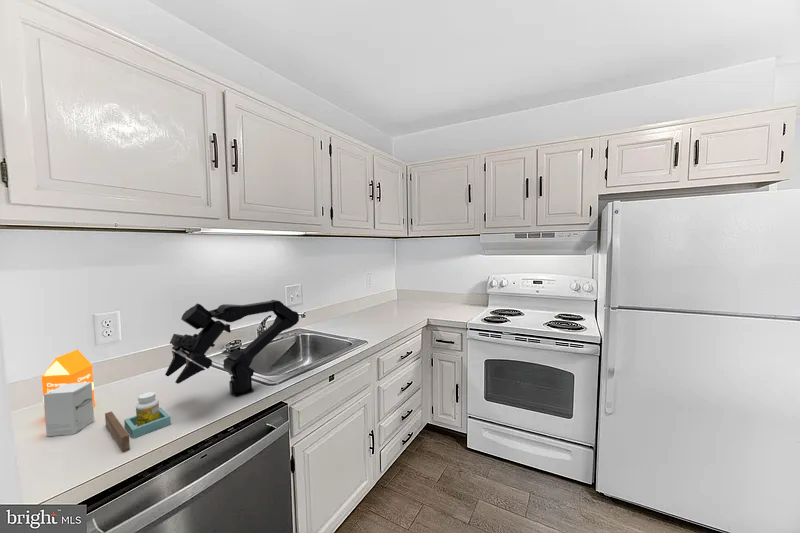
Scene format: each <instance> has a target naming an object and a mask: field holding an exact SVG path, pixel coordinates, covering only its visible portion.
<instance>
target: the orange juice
mask: <svg viewBox="0 0 800 533" xmlns="http://www.w3.org/2000/svg"><path fill="white" fill-rule="evenodd" d="M93 374H94V373H93V364H92V363H91V362H90V361H89V360H88V359H87V358H86V357H85V355H83V353H82V352H81V351H80V350H79V349H75V350H72V351H70V352H67V353H65V354H63V355H59V356H57V357H55V358H54V359H53V360H52V362H51V364H50V365H49V366H48V368H47V369H46V371H45V372H44V373H43V375H41V384H42V386H41V387H42V402H43V403H42V404H44V394H46V393H48V392H50V391H52V390H54V389H56V388H58V387H60V386H62V385H64V384H71V383H83V382H92V396H93V408H94V407H95V406H96V402H95V385H94V376H93ZM43 411H44V413H45V408H44V407H43Z"/></svg>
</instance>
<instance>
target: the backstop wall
mask: <svg viewBox="0 0 800 533" xmlns="http://www.w3.org/2000/svg"><path fill="white" fill-rule="evenodd" d="M104 416H105V418H104V419H105V428H106V429H107V430H108V432H109V433H110V435H111V437H112V439H113V440H114V442H115V443H116V444H117V446H118V448H119V450H120V451H121V453H124V452H127V451H130V446H131V444H130V436H129V435H130V434H129V433H128V431H127V430H126V429H125V427H124V426H123V425H122V424H121V422H120V421H119V419H118V418H117V417H116V415H115V414H114V412H113V411H108V412H106V413H104Z"/></svg>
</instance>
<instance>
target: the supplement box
mask: <svg viewBox="0 0 800 533" xmlns="http://www.w3.org/2000/svg"><path fill="white" fill-rule="evenodd" d="M44 408H45V412H44V420H45V432H46V437H58V436H69V435H70V436H71V435H76V434H77V433H78V432H80V430H82V429H84V428H86V427H87V426H88V425H89V424H92V423H93V422H94V421H95V416H94V415H95V413H94V412H95V411H94V407H93V396H92V382H83V383H71V384H64V385H62V386H60V387H58V388H56V389H54V390H52V391H50V392H48V393H46V394H44V403H43V409H44Z"/></svg>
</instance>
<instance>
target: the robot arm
mask: <svg viewBox="0 0 800 533" xmlns="http://www.w3.org/2000/svg"><path fill="white" fill-rule="evenodd" d="M269 312H273V314H274V315H276V316H275V318H274V321H273V323H272V324H271V325H270V326H269V327H268V328H266V329H265V330H264V331H263V332H262V333H261V334H259V335H258V336H257V337H256V338H255V339H254V340H253V341H251V343H249V344H248V345H247V346H246V347H245V348H243V349H238V348H235V349H234V350H233V351H232V352H231V353H230V354H229V355H228V354H227V355H226V358H225V359H224V361H223V364H222V366H223V369H224V371H226V372H228V374H229V375H230V380H229V382H228V383H229V393H231V394H232V395H233V396H234V397H240V396H243V395H247V394H249V393H252V392H254V391H255V390H254V389H253V385H252V384H253V383H252V377H253V376H254V373H255V370H254V369H253V368H252V367H250V366H251V365H252V362H253V360H254V358H255V357H256V356H257V355H259V353H261V351H262V350H264V349H265V347H267V346H268V345H269V344H271V342H272V341H273V340H274V339H276V338H277V337H278V336H279V335H280V334H281V333H282V332H283V331H287V330H288V329H291V328H292V327H294V326H296V325H297V324H298V323H299V321H300V315H299V313H298V312H297V311H294V310H292V308H289V307H288V306H286V305H285V304H284V303H283V302H282V301H280V300H277V299H271V300H268V301H259V302H255V303H248V304H233V303H232V304H228V303H226V304H225V303H224V304H220V305H218V307H217V308H215V309H212V310H211V309H210V310H208V309H206V308H205V307H204V306H203V305H202V304H201V303H196V304H195V305H193V306H191V307H190V308H188V309H186V311H184V313H183V314H182V316H181V319H180V320H181V321H183V322H185V324H187V325H189V326H190V327H192V328H193V329H195V330H200V329H201V330H200V331H199V332H198V333H194V334H193V335H191V334H184V335H183V334H179V333H173V335H172V336H171V339H170V342H169V345H172V347H171V349H172V350H171V353H172V360H171V362H170V364H169V365H168V367H167V370H166V372H165V376H166V377H169V376H171V375H172V374H174V373H175V372H177V371H178V370H179V369H180V368H182V367H183V366H184V367H183V369H182V370H181V372H180V374H179V375H178V376H177V378H176V380H175V382H174V383H176V384H181V383H182V382H184V381H186V380H188V379H190V378H191V377H193V376H195V375H196V374H199V373H200V372H203V371H205V370H206V369H208V370H209V368H210V367H211V366H212V365H213V359H211V358H209V357H208V356H207V355H206V353H207V352H208V351H209V349H210V348H214V347H215V346H216V344H214V343H215V342H216V341H217V339H218V338H219V337H220V336H221V335H222V333H223V332H227V333H229V334H231V332H232V331H231V324H230V323H234V322H236V321H240V320H242V319H243V318H245V317H247V316H253V315H259V314H264V313H269ZM214 319H216V320H214ZM224 322H226V324H225V323H224ZM228 323H229V324H228Z"/></svg>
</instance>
